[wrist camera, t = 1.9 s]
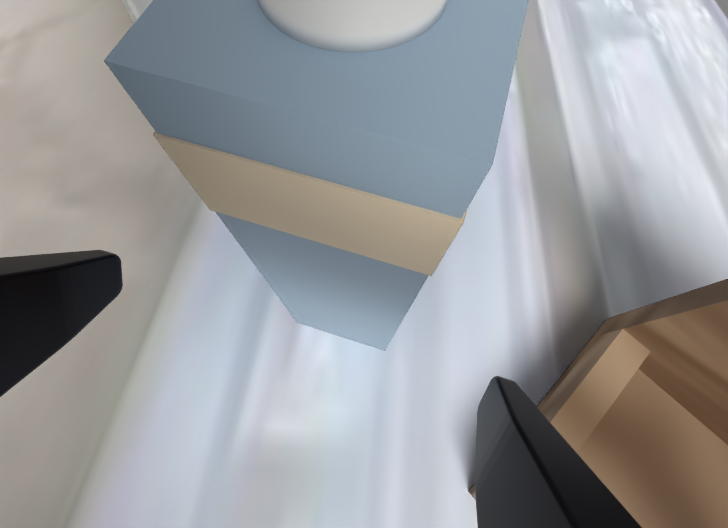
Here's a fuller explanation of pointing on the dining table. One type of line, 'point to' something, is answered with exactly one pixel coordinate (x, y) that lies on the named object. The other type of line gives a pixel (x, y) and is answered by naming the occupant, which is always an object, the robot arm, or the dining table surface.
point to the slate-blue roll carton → (330, 135)
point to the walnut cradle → (654, 409)
